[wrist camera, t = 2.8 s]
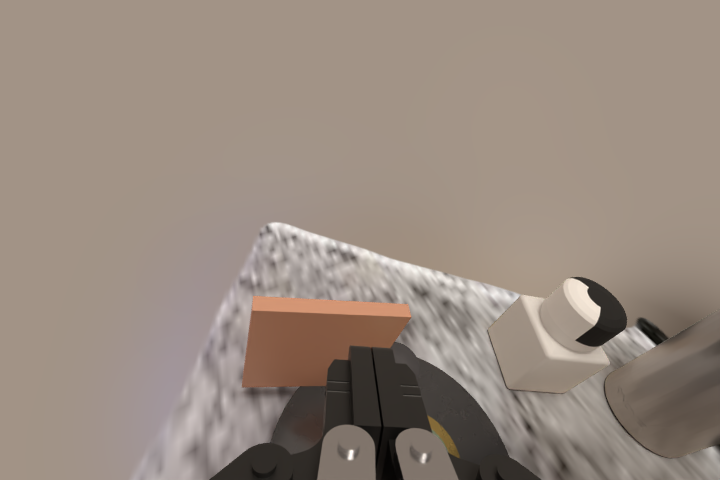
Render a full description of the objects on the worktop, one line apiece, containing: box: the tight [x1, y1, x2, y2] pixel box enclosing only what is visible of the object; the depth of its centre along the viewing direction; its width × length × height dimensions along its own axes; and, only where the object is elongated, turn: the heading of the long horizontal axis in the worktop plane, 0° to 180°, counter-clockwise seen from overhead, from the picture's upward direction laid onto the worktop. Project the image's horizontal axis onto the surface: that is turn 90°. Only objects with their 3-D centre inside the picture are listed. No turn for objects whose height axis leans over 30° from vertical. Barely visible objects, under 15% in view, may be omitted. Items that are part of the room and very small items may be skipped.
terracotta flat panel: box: [242, 296, 420, 387], centre depth 27 cm, size 14×4×11 cm, turn 98°
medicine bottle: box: [488, 277, 627, 393], centre depth 36 cm, size 7×7×12 cm
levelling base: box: [271, 358, 510, 465], centre depth 26 cm, size 20×20×5 cm
